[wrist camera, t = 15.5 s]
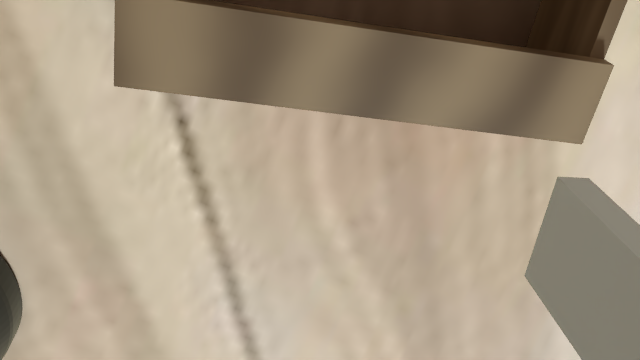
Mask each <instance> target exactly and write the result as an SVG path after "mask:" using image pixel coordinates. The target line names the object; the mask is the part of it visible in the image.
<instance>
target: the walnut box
mask: <svg viewBox="0 0 640 360" xmlns="http://www.w3.org/2000/svg"><path fill="white" fill-rule="evenodd" d="M626 2H627V0H541V3H540V6H539V9H538V12H537V15H536V18H535V21H534V24H533V27H532V30H531V33H530V36H529V39H528V42H527V45H526V47H519V46H512V45H506V44H499V43H492V42H486V41H479V40H472V39H466V38H459V37H452V36H446V35H439V34H432V33H426V32H419V31H412V30H406V29H399V28H392V27H385V26H379V25H372V24H365V23H359V22H352V21H345V20H339V19H332V18H325V17H319V16H312V15H305V14H299V13H292V12H285V11H279V10H272V9H265V8H259V7H252V6H245V5H238V4H232V3H225V2H218V1H212V0H115V42H114V86H118V87H126V88H134V89H142V90H150V91H158V92H166V93H174V94H182V95H190V96H198V97H206V98H214V99H222V100H230V101H238V102H246V103H254V104H262V105H270V106H278V107H286V108H294V109H302V110H311V111H319V112H327V113H335V114H343V115H351V116H359V117H367V118H375V119H383V120H391V121H399V122H407V123H415V124H423V125H431V126H439V127H447V128H455V129H463V130H471V131H479V132H487V133H495V134H503V135H511V136H519V137H527V138H535V139H543V140H551V141H559V142H567V143H575V144H582V143H583V140H584V138H585V135H586V133H587V130H588V128H589V126H590V123H591V121H592V118H593V116H594V113H595V111H596V108H597V106H598V104H599V101H600V99H601V96H602V94H603V91H604V89H605V86H606V84H607V81H608V79H609V77H610V74H611V72H612V69H613V67H614V65H612V64H611V63H609V62H608V61H606V60H604V58H605V55H606V53H607V50H608V48H609V45H610V43H611V40H612V38H613V35H614V33H615V30H616V28H617V25H618V23H619V20H620V18H621V15H622V13H623V10H624V7H625V5H626Z"/></svg>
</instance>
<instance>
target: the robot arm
mask: <svg viewBox="0 0 640 360" xmlns="http://www.w3.org/2000/svg"><path fill="white" fill-rule="evenodd" d="M525 277H526V279H527V280H528V282H529V283H530V285H531V286H532V287H533V289H534V290H535V292H536V293H537V295H538V296H539V298H540V299H541V301H542V302H543V304H544V305H545V306H546V308H547V309H548V311H549V312H550V314H551V315H552V317H553V318H554V320H555V321H556V323H557V324H558V325H559V327H560V328H561V330H562V331H563V333H564V334H565V336H566V337H567V339H568V340H569V342H570V343H571V344H572V346H573V347H574V349H575V350H576V352H577V353H578V355H579V356H580V358H581V359H582V360H640V225H639V224H638V223H637V222H636V221H635V220H633V219H632V218H631V217H630V216H629V215H628V214H627V213H626V212H625V211H624V210H623V209H622V208H620V207H619V206H618V205H617V204H616V203H615V202H614V201H613V200H612V199H611V198H610V197H609V196H607V195H606V194H605V193H604V192H603V191H602V190H601V189H600V188H599V187H598V186H597V185H595V184H594V183H593V182H592V181H591V180H590V179H589V178H573V177H557V180H556V183H555V186H554V189H553V192H552V195H551V198H550V201H549V204H548V207H547V210H546V213H545V216H544V219H543V222H542V225H541V228H540V231H539V234H538V237H537V240H536V243H535V246H534V249H533V252H532V255H531V258H530V261H529V264H528V267H527V270H526V273H525ZM21 316H22V299H21V293H20V289H19V286H18V283H17V281H16V279H15V277H14V275H13V273H12V271H11V269H10V268H9V266H8V265H7V263H6V262H5V261H4V259H3V258H2V257H1V256H0V360H2V358H3V357H4V355H5V354H6V352H7V350H8V348H9V346H10V344H11V342H12V340H13V338H14V336H15V334H16V332H17V330H18V328H19V325H20V321H21Z"/></svg>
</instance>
